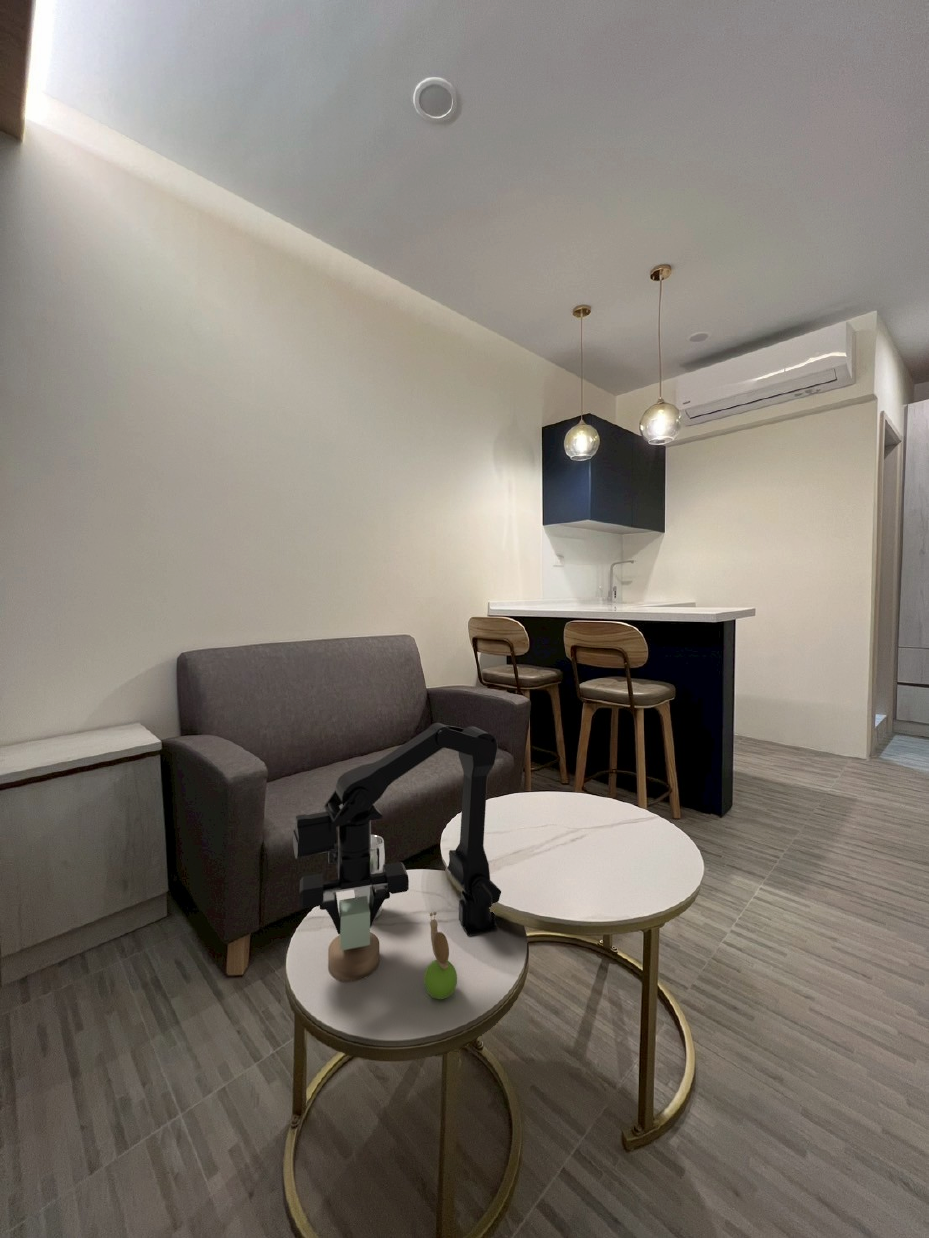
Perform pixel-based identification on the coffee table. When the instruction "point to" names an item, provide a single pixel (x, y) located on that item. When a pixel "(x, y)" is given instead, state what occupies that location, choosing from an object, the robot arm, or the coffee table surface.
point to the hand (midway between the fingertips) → (354, 929)
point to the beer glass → (374, 866)
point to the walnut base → (353, 960)
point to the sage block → (354, 922)
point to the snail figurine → (440, 966)
